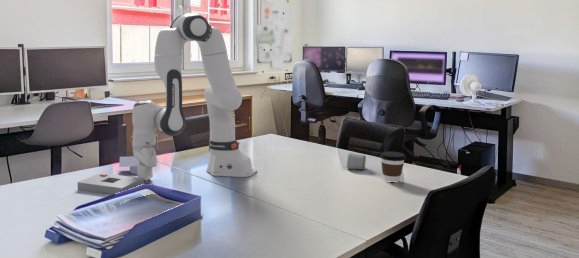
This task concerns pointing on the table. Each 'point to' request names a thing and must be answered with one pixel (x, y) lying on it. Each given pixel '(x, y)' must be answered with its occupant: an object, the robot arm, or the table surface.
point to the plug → (143, 172)
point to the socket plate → (109, 183)
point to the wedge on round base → (129, 163)
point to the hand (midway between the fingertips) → (145, 172)
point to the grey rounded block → (356, 161)
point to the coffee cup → (392, 165)
